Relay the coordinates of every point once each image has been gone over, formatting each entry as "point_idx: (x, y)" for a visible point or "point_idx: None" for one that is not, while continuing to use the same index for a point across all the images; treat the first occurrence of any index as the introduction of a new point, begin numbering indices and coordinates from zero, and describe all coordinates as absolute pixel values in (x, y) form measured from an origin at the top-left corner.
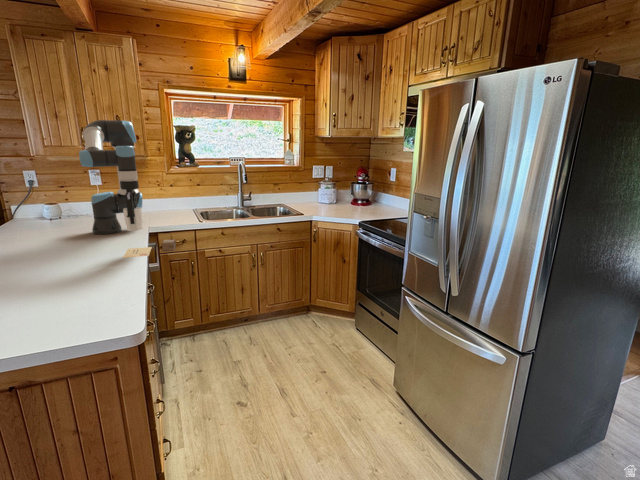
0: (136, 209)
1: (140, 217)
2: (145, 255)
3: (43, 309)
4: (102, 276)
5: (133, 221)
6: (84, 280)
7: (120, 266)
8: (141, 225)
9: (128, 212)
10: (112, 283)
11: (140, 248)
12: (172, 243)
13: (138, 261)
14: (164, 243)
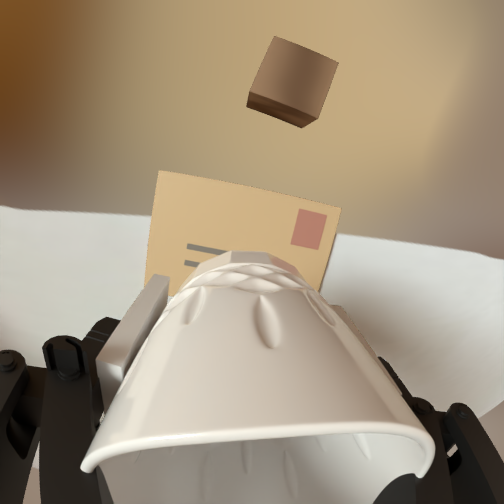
0: (433, 457)
1: (346, 326)
2: (329, 222)
3: (494, 390)
4: (447, 352)
5: (394, 375)
6: (441, 381)
7: (405, 319)
8: (294, 274)
9: (453, 468)
10: (494, 322)
11: (165, 232)
12: (334, 68)
13: (390, 259)
14: (320, 107)
